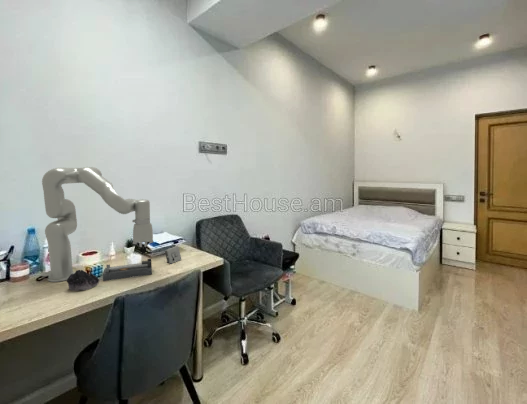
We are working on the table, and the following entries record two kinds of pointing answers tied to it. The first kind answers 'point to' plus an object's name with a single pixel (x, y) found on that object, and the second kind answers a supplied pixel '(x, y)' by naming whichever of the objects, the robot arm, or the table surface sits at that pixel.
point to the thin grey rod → (129, 265)
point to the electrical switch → (173, 255)
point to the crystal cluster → (82, 281)
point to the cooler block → (127, 272)
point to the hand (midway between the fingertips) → (143, 253)
